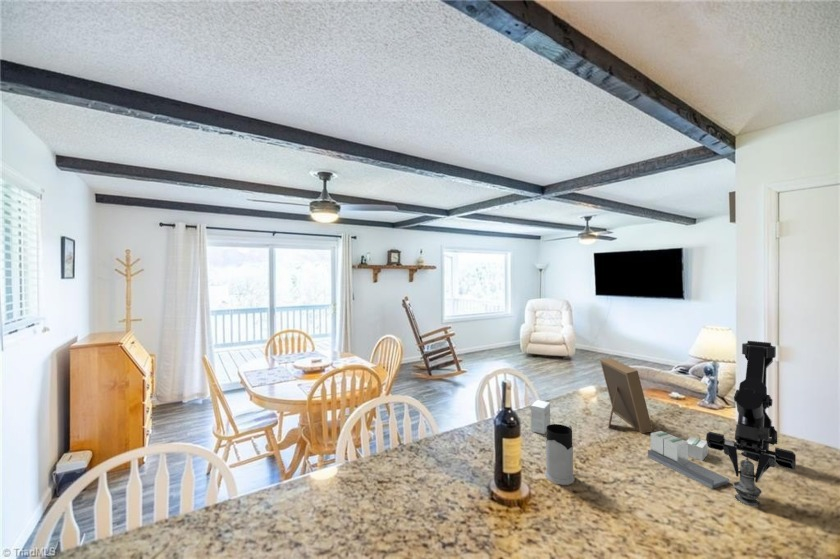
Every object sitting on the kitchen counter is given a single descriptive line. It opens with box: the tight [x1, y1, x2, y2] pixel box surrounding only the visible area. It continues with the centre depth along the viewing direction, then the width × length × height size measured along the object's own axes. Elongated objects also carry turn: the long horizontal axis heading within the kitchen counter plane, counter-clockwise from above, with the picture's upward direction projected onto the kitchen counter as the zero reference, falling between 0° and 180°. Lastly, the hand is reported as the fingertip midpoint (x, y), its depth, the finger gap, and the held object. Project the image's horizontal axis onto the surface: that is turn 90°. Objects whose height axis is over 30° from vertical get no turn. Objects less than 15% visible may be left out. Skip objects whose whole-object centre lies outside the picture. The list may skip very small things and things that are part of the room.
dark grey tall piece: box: [732, 457, 762, 507], centre depth 101 cm, size 6×6×12 cm
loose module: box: [686, 436, 709, 462], centre depth 127 cm, size 7×5×5 cm
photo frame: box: [599, 357, 653, 434], centre depth 154 cm, size 15×22×25 cm
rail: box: [647, 430, 730, 490], centre depth 117 cm, size 8×20×8 cm, turn 21°
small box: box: [530, 399, 551, 435], centre depth 148 cm, size 8×6×10 cm
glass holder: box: [544, 423, 575, 486], centre depth 116 cm, size 9×14×15 cm, turn 137°
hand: (746, 478), depth 100 cm, fingers open, 4 cm apart
